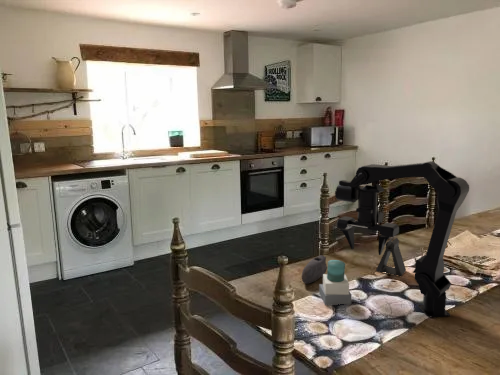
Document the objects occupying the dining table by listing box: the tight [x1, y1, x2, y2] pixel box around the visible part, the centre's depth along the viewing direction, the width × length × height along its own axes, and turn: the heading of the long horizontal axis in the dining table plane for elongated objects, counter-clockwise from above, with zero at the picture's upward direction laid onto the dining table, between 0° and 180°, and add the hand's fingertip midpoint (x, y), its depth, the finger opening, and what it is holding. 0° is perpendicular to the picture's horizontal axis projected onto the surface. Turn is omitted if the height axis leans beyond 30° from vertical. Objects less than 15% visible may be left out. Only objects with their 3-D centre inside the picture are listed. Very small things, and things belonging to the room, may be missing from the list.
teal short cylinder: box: [326, 259, 346, 282], centre depth 123 cm, size 5×5×5 cm
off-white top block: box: [322, 273, 350, 295], centre depth 123 cm, size 7×7×4 cm
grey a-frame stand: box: [375, 236, 407, 277], centre depth 144 cm, size 9×6×12 cm, turn 54°
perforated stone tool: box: [301, 254, 328, 285], centre depth 138 cm, size 15×5×7 cm, turn 141°
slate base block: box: [318, 283, 352, 306], centre depth 124 cm, size 8×8×4 cm
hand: (366, 251), depth 129 cm, fingers open, 9 cm apart
